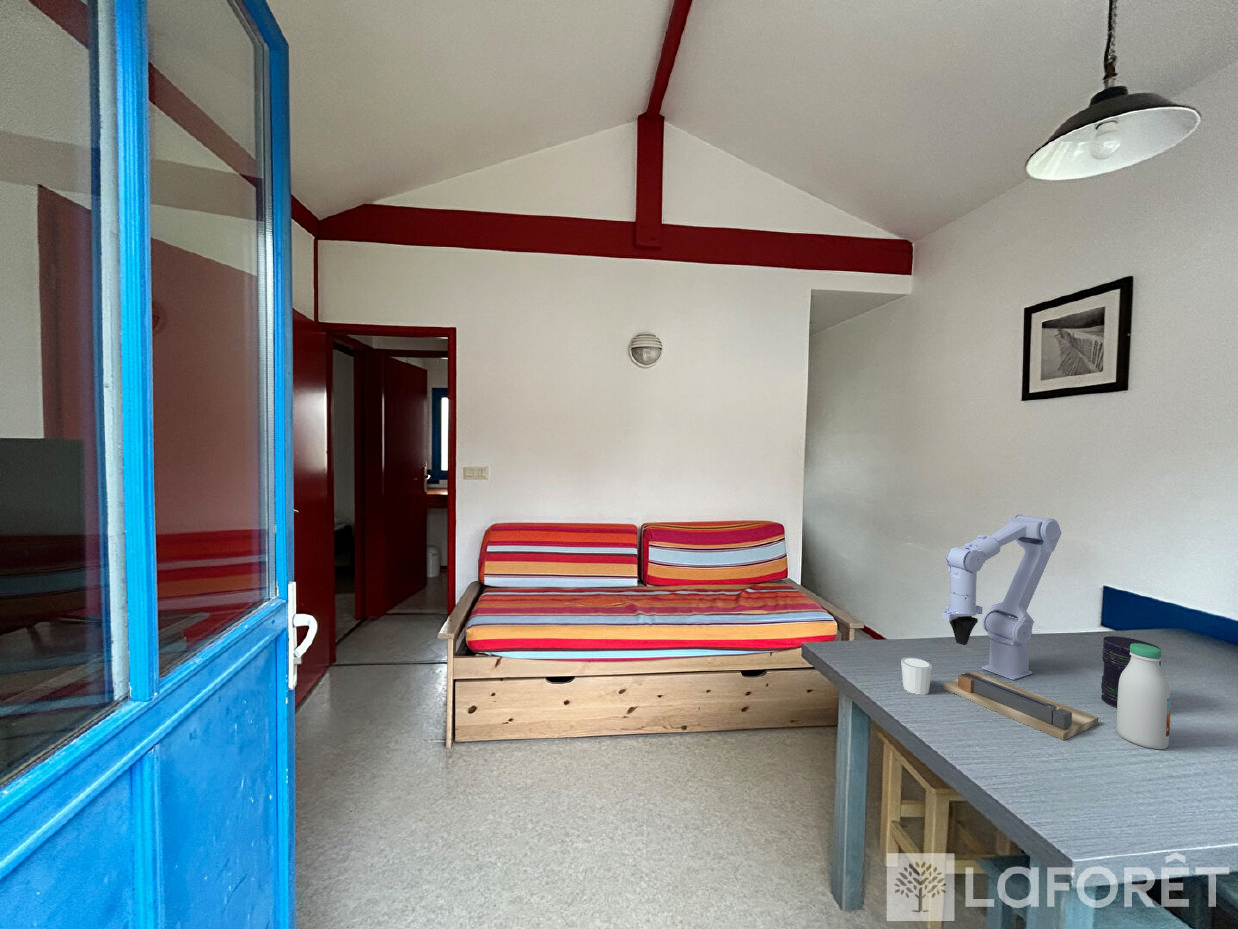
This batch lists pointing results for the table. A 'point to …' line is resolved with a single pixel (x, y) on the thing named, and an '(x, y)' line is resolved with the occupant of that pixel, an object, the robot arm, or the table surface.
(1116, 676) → the storage jar
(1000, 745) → the table surface
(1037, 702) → the arm
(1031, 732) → the table surface
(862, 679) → the table surface
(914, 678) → the white cup
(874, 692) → the table surface
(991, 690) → the tongs fixed arm
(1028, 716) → the board
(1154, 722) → the milk bottle
